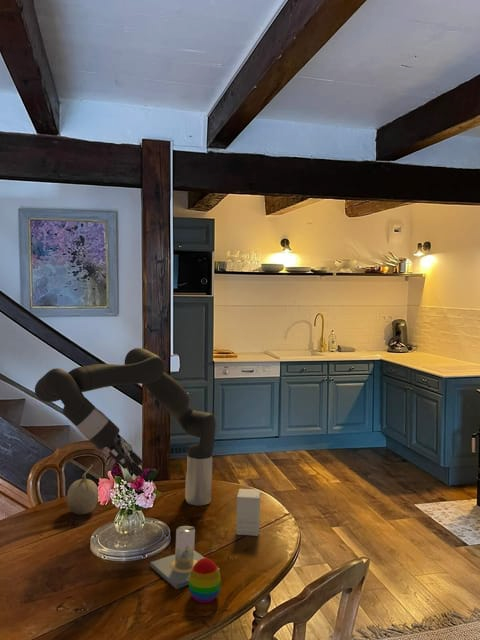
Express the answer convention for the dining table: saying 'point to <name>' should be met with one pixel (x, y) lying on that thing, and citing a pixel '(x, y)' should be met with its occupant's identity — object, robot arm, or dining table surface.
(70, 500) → the fruit
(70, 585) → the dining table surface
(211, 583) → the decorative egg
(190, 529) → the clear glass cylinder
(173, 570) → the flange plate
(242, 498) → the supplement box
